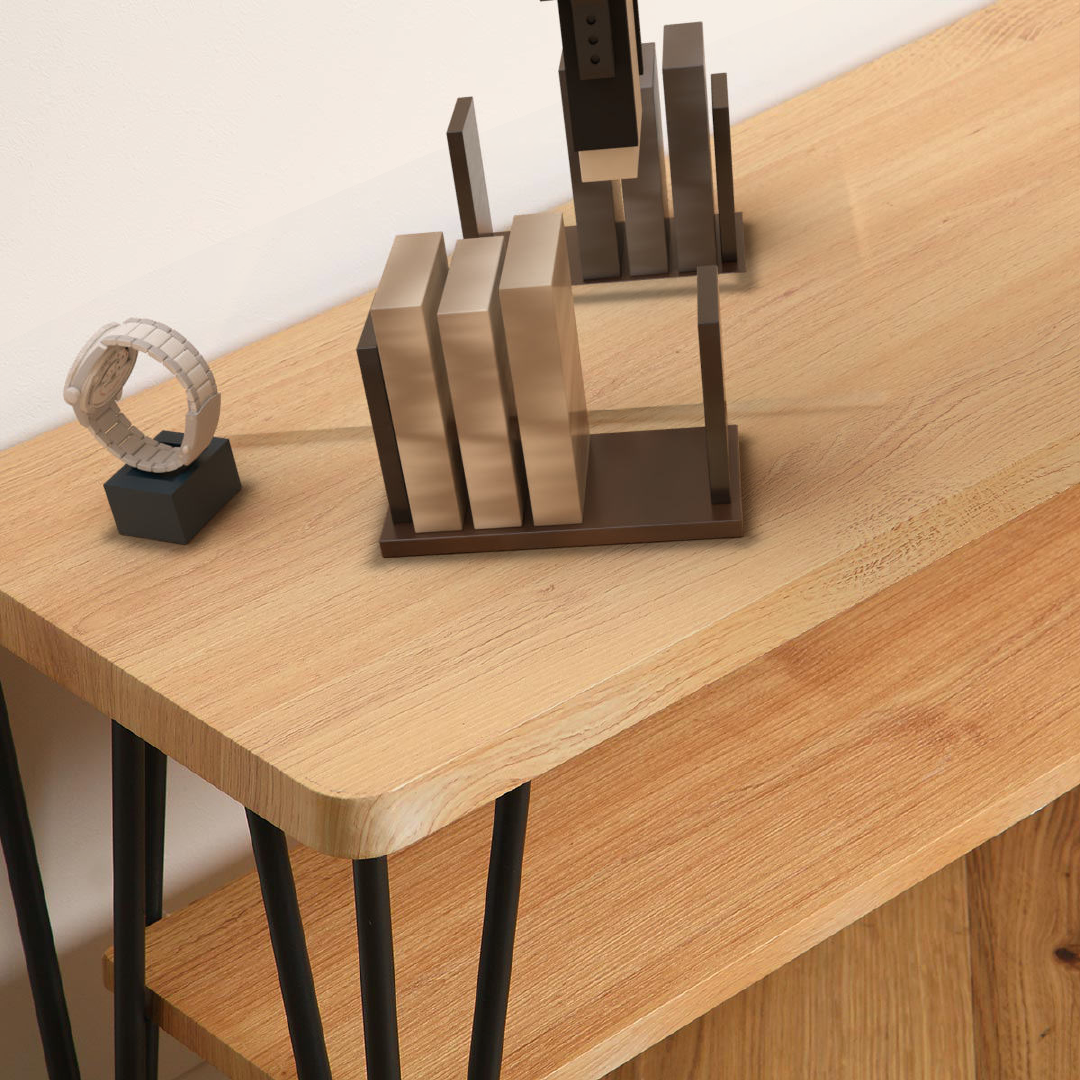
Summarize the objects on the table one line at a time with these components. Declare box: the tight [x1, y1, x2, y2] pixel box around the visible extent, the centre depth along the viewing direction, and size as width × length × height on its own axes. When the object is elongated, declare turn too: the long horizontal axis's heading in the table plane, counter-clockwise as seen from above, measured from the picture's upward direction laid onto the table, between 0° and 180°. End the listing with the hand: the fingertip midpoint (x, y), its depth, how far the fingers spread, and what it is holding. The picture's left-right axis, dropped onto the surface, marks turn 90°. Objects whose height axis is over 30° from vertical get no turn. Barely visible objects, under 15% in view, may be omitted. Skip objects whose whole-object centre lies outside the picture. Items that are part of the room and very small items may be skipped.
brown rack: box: [355, 210, 744, 558], centre depth 80 cm, size 18×9×14 cm, turn 86°
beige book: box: [579, 0, 642, 182], centre depth 70 cm, size 2×8×13 cm, turn 176°
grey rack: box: [445, 21, 747, 287], centre depth 101 cm, size 18×9×14 cm, turn 86°
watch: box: [62, 317, 243, 545], centre depth 84 cm, size 6×8×11 cm
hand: (610, 108), depth 72 cm, fingers closed on beige book, 8 cm apart
